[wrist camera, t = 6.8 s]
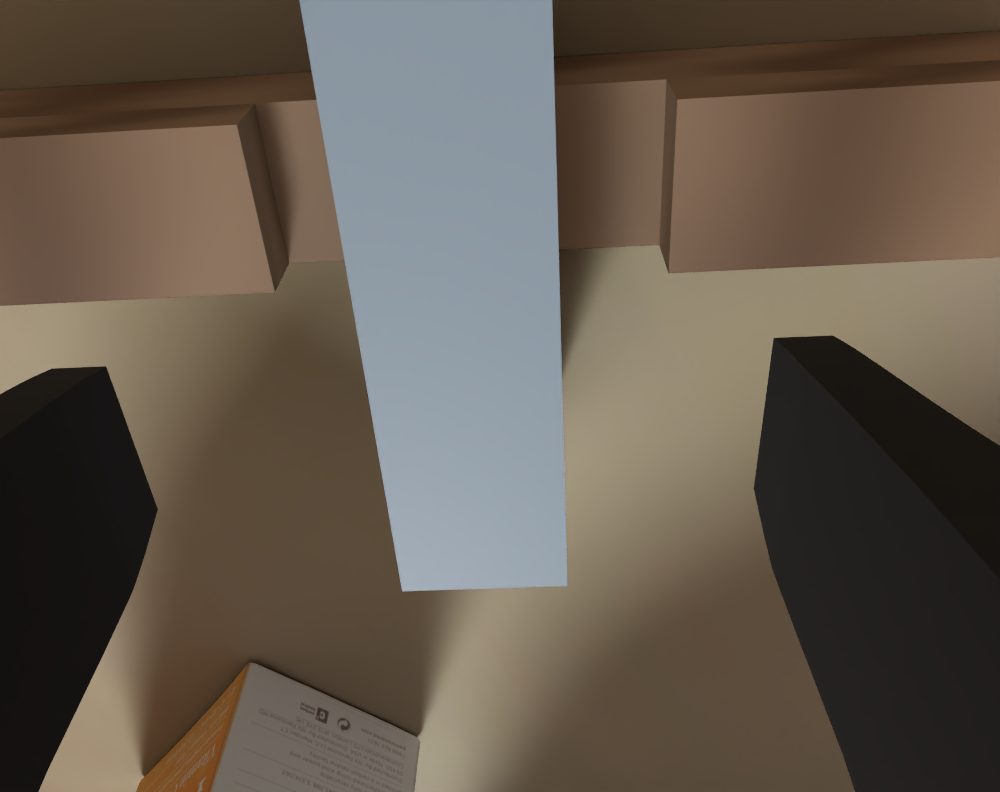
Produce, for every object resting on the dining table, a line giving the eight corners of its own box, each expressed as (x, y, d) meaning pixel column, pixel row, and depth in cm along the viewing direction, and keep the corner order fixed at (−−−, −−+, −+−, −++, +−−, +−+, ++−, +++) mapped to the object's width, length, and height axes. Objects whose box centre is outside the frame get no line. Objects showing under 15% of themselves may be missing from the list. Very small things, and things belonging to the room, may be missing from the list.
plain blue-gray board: (535, -218, 14) (546, -228, 9) (554, 398, 21) (567, 585, 16) (351, -205, 14) (263, -207, 9) (429, 404, 21) (402, 591, 16)
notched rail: (1008, 30, 16) (1105, 75, 14) (969, 187, 18) (1048, 254, 15) (-51, 93, 17) (-156, 146, 14) (6, 237, 19) (-78, 309, 16)
